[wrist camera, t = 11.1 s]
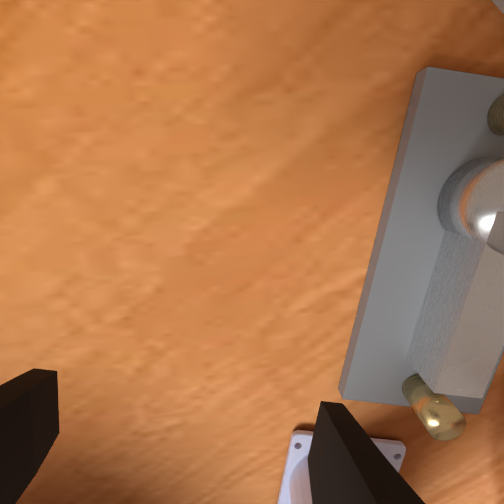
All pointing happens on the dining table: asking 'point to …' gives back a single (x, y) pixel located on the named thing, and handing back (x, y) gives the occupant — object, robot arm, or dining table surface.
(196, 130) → the dining table surface
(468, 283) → the ball topped lever
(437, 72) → the board
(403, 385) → the peg pair
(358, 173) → the dining table surface
